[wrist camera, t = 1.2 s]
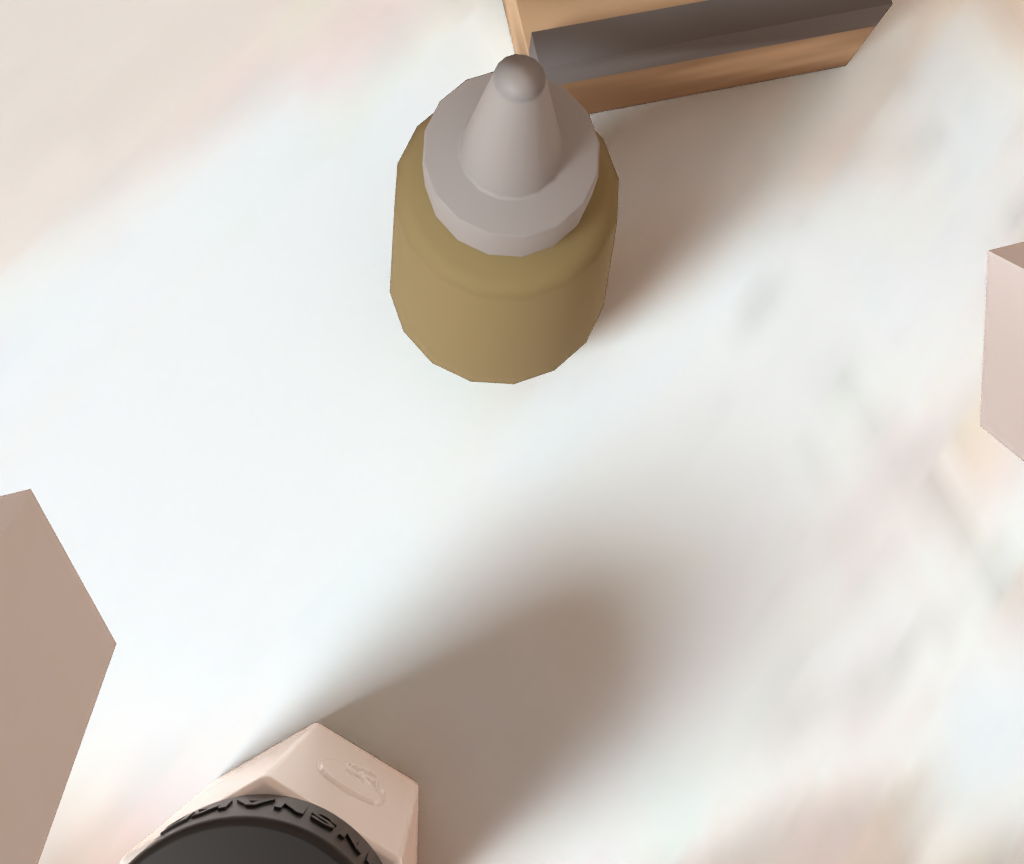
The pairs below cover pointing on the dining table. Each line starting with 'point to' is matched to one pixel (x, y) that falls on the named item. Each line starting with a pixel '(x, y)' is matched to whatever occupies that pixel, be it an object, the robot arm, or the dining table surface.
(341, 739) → the jar
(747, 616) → the dining table surface
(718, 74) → the wooden bookend
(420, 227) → the squeeze bottle
